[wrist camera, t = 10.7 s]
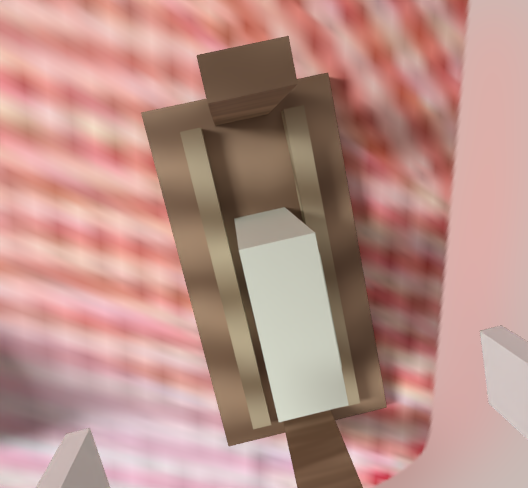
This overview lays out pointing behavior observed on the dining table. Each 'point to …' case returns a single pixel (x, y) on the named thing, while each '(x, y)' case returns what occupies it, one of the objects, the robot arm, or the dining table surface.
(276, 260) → the cream rectangular block
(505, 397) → the robot arm
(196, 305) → the wooden rack
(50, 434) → the dining table surface
